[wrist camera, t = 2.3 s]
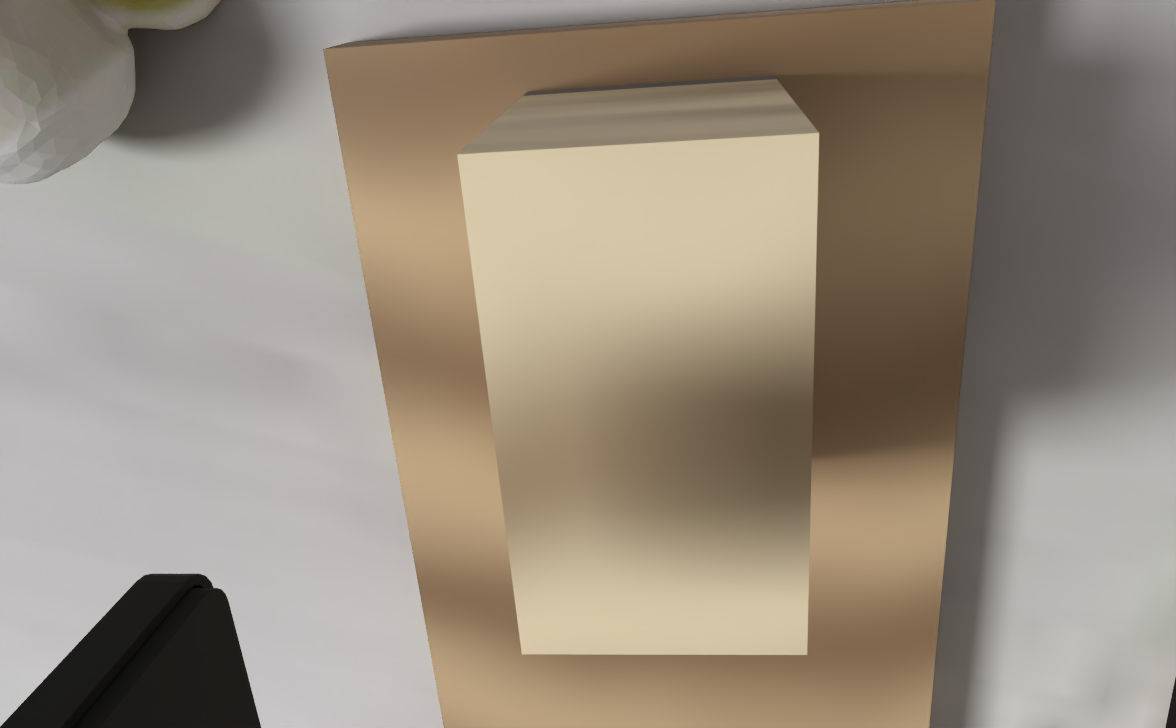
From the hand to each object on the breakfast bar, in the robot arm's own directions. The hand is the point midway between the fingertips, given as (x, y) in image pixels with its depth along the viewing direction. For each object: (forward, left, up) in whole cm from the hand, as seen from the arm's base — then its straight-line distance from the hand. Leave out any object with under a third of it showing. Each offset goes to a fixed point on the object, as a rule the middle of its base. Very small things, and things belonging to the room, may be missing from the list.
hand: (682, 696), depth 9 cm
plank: (+7, 0, -12) cm, 14 cm away
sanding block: (-1, 0, -11) cm, 11 cm away
